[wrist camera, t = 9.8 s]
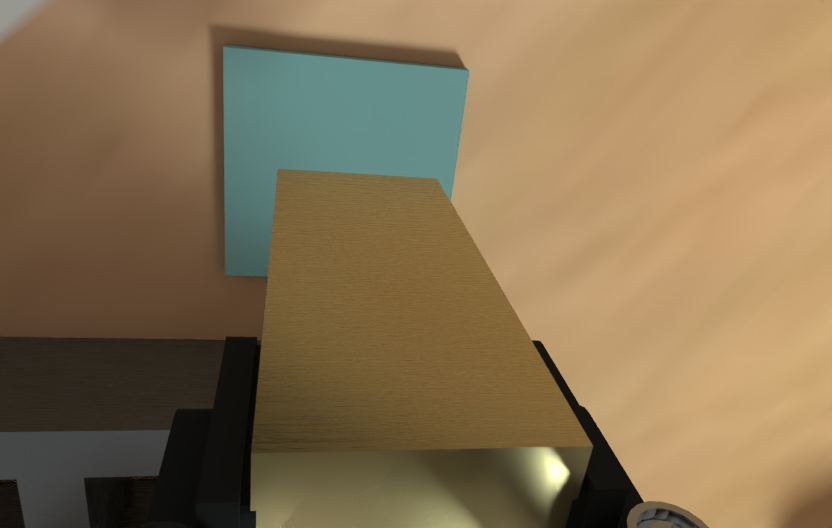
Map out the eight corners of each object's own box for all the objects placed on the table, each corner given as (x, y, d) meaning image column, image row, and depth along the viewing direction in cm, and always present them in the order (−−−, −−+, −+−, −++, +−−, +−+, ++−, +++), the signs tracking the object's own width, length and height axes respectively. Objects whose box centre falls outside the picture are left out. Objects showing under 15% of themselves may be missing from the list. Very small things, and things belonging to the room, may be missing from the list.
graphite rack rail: (457, 343, 31) (490, 426, 25) (431, 502, 35) (455, 602, 29) (-122, 335, 26) (-231, 434, 21) (-73, 519, 30) (-153, 641, 25)
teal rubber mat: (465, 67, 25) (469, 70, 25) (436, 276, 29) (438, 282, 28) (224, 44, 23) (222, 47, 23) (226, 269, 27) (225, 275, 27)
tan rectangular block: (437, 178, 18) (593, 446, 9) (418, 313, 20) (530, 659, 10) (277, 168, 17) (250, 452, 8) (274, 310, 19) (249, 683, 10)
